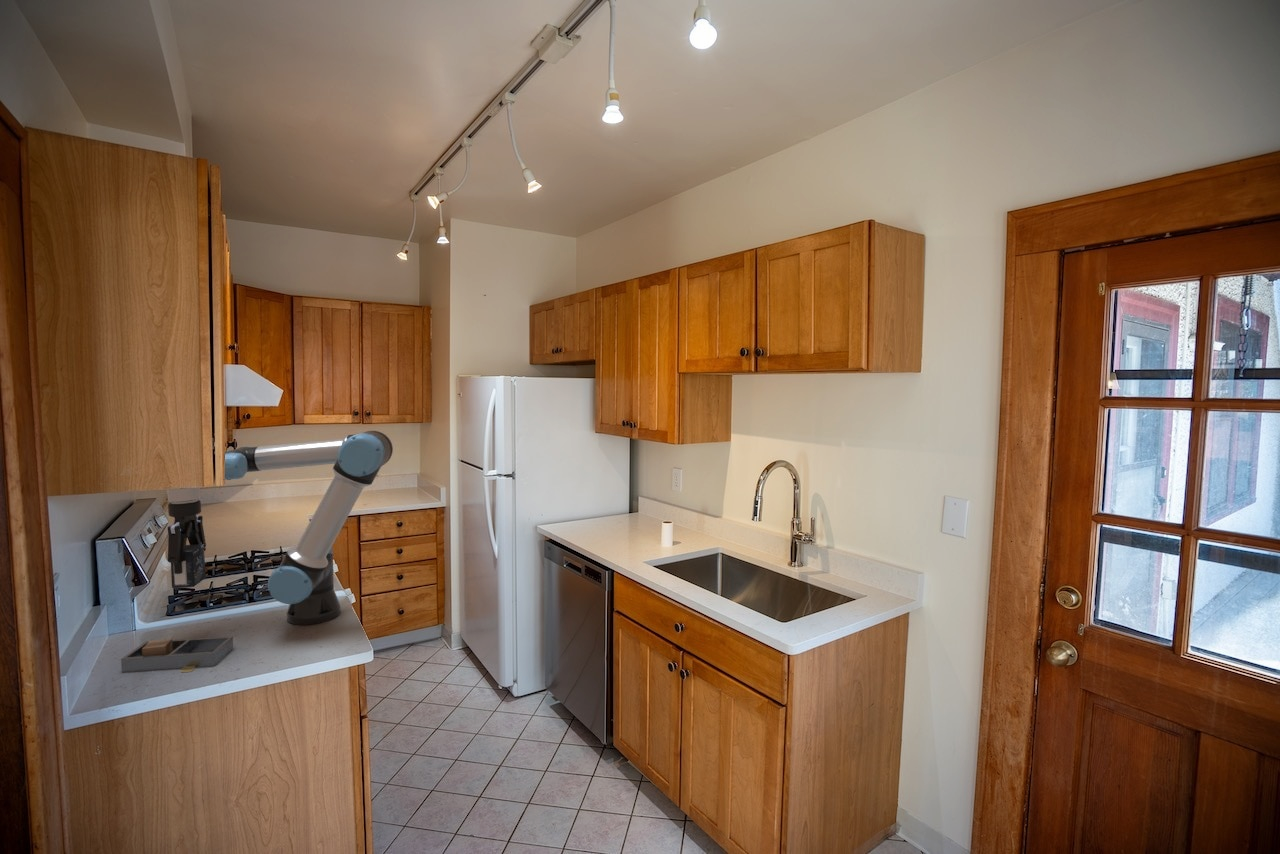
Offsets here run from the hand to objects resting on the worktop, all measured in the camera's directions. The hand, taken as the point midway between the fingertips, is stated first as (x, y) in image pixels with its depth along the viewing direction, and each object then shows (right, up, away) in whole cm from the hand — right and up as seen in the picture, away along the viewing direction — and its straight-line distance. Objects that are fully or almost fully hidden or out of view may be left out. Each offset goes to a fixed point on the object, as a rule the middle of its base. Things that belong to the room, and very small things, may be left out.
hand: (189, 578), depth 178 cm
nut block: (+1, -19, -13) cm, 23 cm away
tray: (+6, -19, -13) cm, 24 cm away
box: (0, -2, 0) cm, 2 cm away
